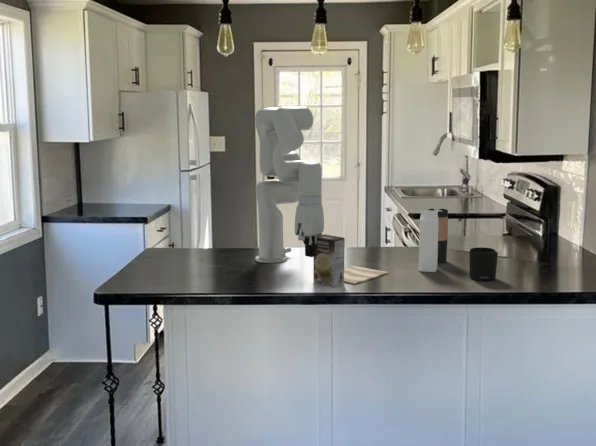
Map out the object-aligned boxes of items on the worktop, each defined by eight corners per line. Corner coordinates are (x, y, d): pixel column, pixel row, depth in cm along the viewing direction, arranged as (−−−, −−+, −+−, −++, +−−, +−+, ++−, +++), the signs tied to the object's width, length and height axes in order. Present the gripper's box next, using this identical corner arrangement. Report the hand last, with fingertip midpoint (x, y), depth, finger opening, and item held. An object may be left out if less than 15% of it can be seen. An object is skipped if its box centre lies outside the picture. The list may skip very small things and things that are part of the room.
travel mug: (438, 264, 259) (440, 212, 256) (422, 261, 265) (423, 209, 262) (450, 261, 264) (452, 209, 261) (434, 258, 270) (436, 207, 267)
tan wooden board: (352, 267, 256) (352, 265, 255) (388, 273, 245) (388, 272, 245) (318, 277, 241) (318, 275, 241) (354, 284, 230) (354, 283, 230)
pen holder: (463, 278, 237) (464, 250, 236) (477, 273, 244) (478, 246, 242) (488, 283, 231) (489, 254, 229) (501, 278, 237) (502, 249, 236)
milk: (421, 267, 254) (422, 209, 251) (437, 268, 252) (438, 209, 249) (418, 271, 248) (419, 211, 245) (435, 272, 246) (436, 211, 243)
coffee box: (312, 283, 233) (312, 236, 230) (323, 279, 238) (323, 234, 235) (334, 287, 227) (334, 239, 225) (345, 283, 232) (345, 237, 229)
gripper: (315, 197, 229) (316, 251, 232) (285, 202, 218) (286, 258, 221) (333, 199, 224) (333, 254, 227) (303, 204, 213) (304, 261, 216)
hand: (310, 256), depth 224 cm, fingers closed
